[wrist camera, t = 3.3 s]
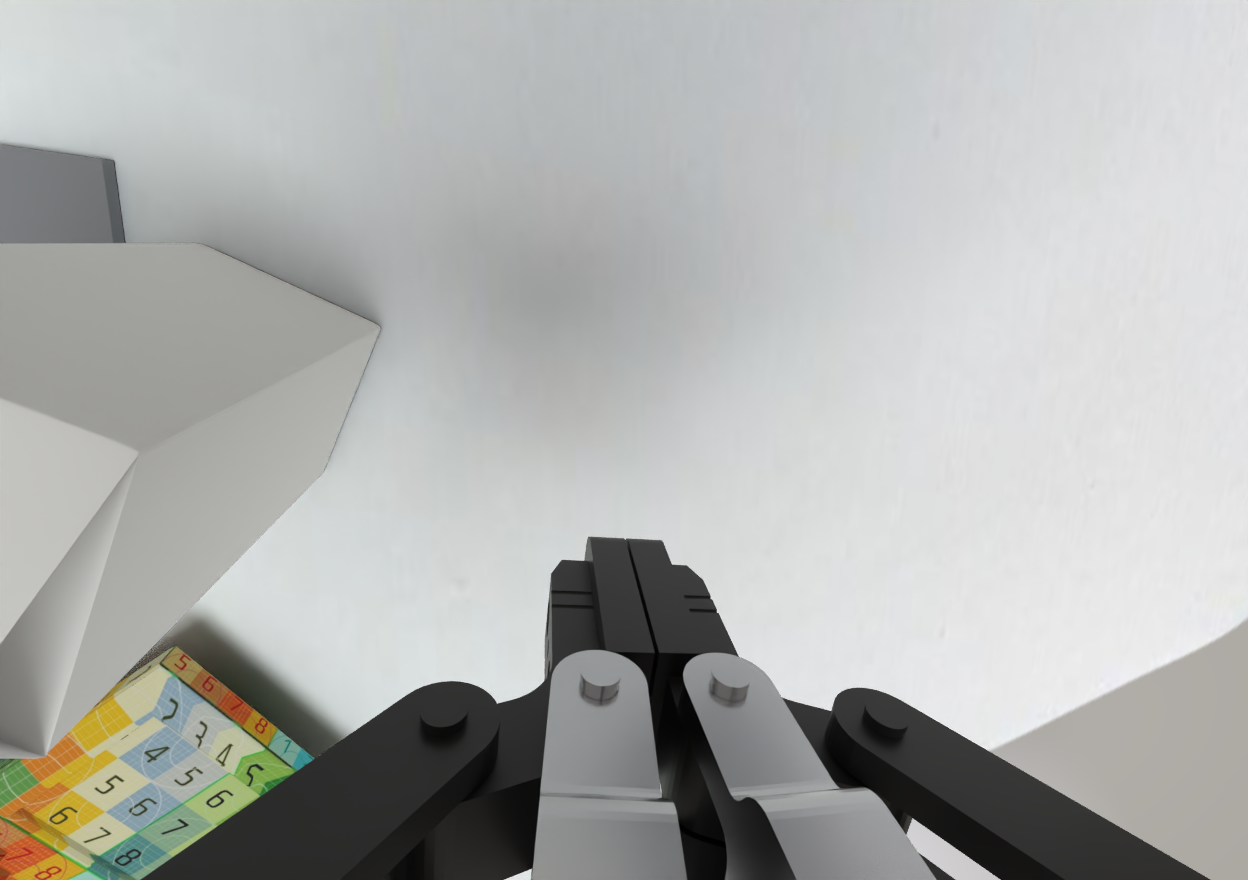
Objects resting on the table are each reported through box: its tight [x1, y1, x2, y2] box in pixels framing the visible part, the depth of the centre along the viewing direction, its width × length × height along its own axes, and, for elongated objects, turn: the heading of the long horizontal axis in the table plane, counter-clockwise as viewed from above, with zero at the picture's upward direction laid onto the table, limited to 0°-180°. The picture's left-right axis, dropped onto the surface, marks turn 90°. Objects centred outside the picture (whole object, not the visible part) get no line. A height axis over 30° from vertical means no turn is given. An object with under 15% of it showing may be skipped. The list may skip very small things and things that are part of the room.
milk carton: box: [0, 243, 380, 759], centre depth 15 cm, size 7×7×19 cm
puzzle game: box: [0, 646, 315, 880], centre depth 28 cm, size 12×5×20 cm
